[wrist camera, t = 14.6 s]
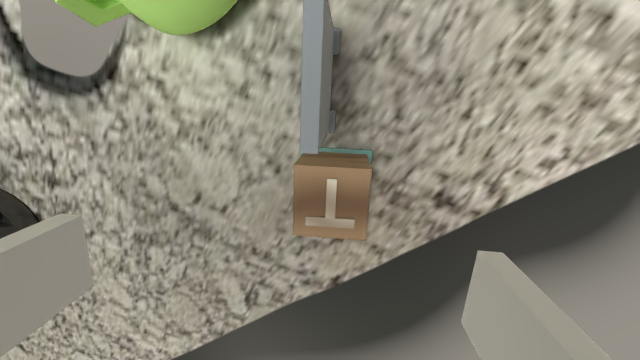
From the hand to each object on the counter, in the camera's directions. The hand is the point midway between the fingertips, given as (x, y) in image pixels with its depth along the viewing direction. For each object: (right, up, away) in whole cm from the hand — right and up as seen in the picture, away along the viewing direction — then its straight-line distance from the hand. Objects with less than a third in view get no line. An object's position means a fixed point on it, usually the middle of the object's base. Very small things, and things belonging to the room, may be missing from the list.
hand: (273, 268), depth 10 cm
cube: (+3, +3, +25) cm, 25 cm away
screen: (+2, +13, +22) cm, 26 cm away
